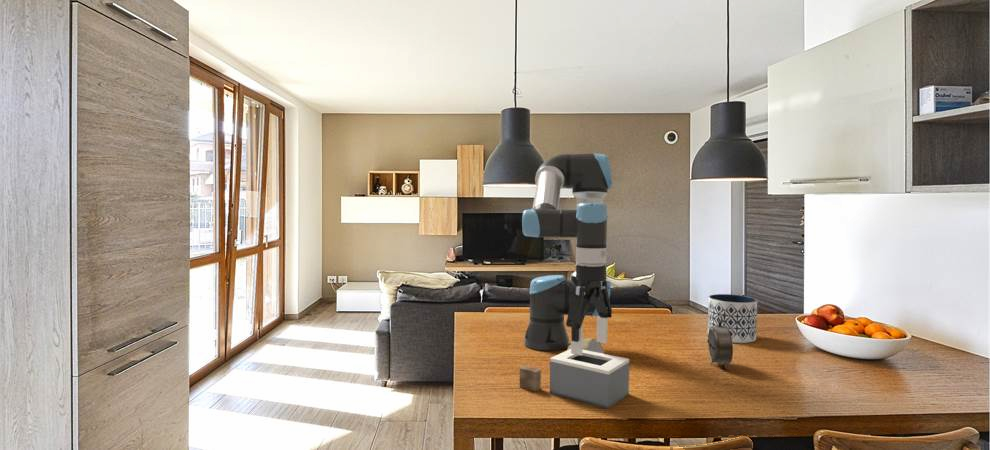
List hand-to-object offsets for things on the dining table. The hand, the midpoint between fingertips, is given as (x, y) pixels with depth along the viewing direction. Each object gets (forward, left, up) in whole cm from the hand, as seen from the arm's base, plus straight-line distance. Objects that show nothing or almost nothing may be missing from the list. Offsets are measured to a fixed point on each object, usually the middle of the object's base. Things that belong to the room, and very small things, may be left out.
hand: (589, 348), depth 130 cm
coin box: (0, 0, -12) cm, 12 cm away
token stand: (-14, -6, -12) cm, 19 cm away
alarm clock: (+20, +44, -12) cm, 50 cm away
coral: (-10, +17, -12) cm, 23 cm away
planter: (+15, +81, -12) cm, 83 cm away
